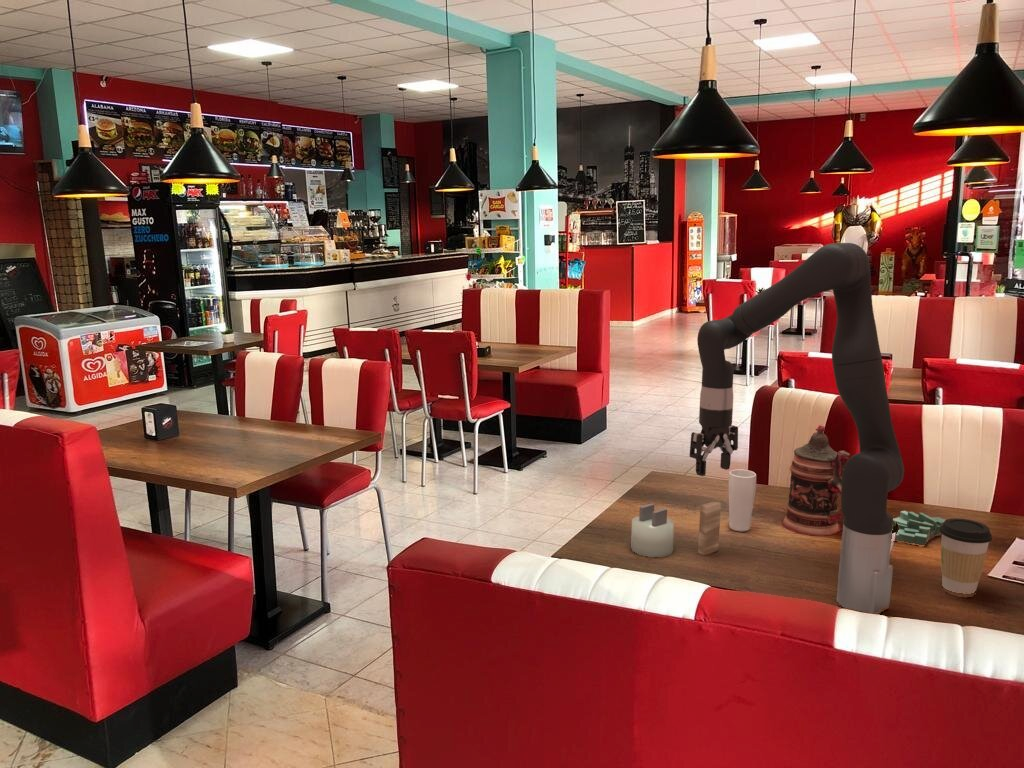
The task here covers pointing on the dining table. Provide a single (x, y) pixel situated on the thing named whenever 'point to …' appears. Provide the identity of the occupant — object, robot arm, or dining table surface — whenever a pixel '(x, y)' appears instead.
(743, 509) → the drinking glass
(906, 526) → the money
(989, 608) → the dining table surface
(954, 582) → the coffee cup
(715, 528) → the brown wooden block
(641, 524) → the cream plug cylinder
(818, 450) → the beer stein
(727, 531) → the dining table surface
